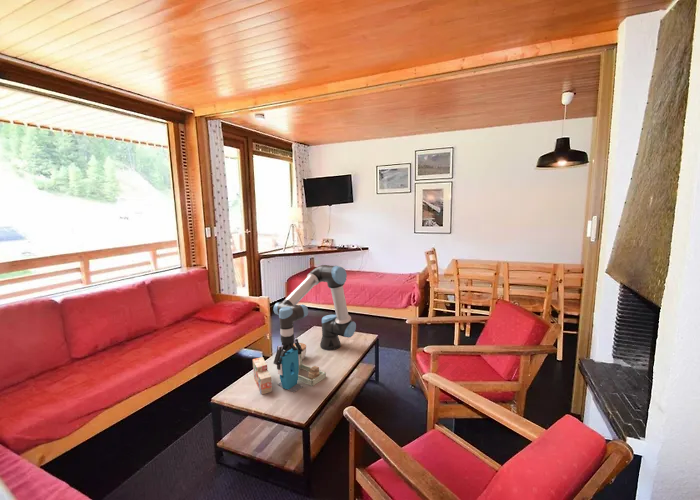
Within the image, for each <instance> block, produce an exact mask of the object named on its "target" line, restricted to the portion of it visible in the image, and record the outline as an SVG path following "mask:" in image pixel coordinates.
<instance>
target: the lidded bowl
mask: <svg viewBox="0 0 700 500" xmlns="http://www.w3.org/2000/svg"><path fill="white" fill-rule="evenodd" d="M299 344H301V348H302V350H303V351H302V352H301V357H302V360H303V359H304V358H305V357H306V355H307V344H305V343H303V342H299ZM293 345H294V346H296V345H295V343H294V344H293Z"/></svg>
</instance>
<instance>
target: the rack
mask: <svg viewBox="0 0 700 500" xmlns="http://www.w3.org/2000/svg"><path fill="white" fill-rule="evenodd" d="M300 346H301V344H300ZM295 347H296V346H295ZM296 348H297V347H296ZM302 360H303V359H302V357H301V354H300V365H299V370H303V371H305V372H306V371H307V372H308V373H309V372H310V368H312V367H313V366H310V365H307V364H303V361H302ZM319 374H320V375H319V376H318V377H316V378H314V379H313V380H310V379H308V377H306V376H303V375H300V374H298V382H302V383H304V384H306V385H308V386H311V387H314V386H315V385H317V384H318V383H319V382H321V381H322V380H324V379H325V378H327V376H326V375H327V373H326V372H325V371H322V370H320V369H319Z"/></svg>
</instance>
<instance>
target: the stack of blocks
mask: <svg viewBox="0 0 700 500" xmlns="http://www.w3.org/2000/svg"><path fill="white" fill-rule="evenodd" d="M252 368H253V369H252V371H253V378H254V381H255V384H256V386H257V388H258V391H259V392H260V395H265V394H267V393H271V392H273V388H272V387H273V386H272V384H273V383H272V375H271V373H270V371H269V370H268V364H267V362H266V361H265V359H264V357H263V356H260V357H256V358H253V359H252Z"/></svg>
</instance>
